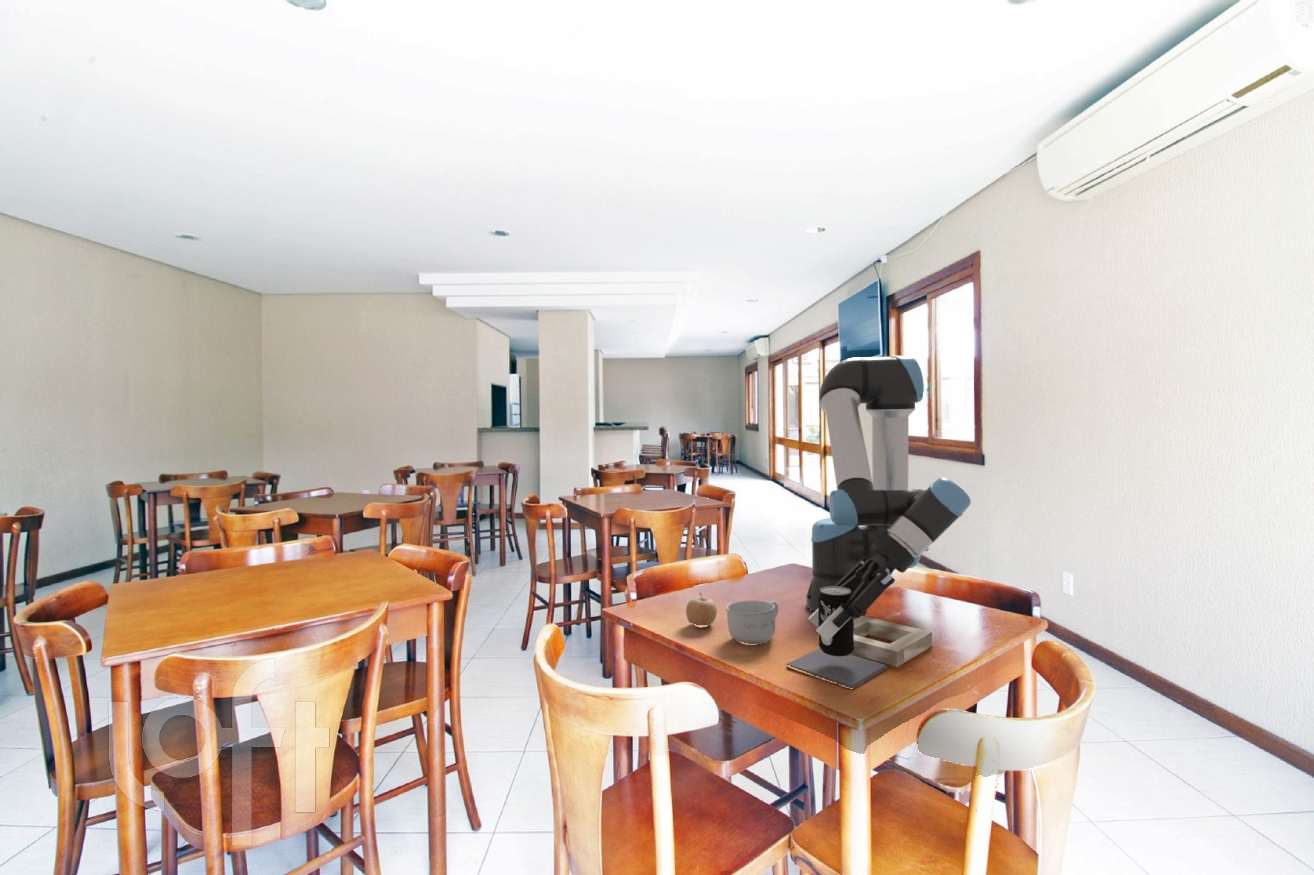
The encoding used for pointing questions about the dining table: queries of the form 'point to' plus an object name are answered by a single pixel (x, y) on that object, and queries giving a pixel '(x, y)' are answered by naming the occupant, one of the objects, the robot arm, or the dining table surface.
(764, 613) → the teacup
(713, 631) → the dining table surface
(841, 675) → the mat
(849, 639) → the beverage can
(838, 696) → the dining table surface
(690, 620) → the fruit
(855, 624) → the can holder
